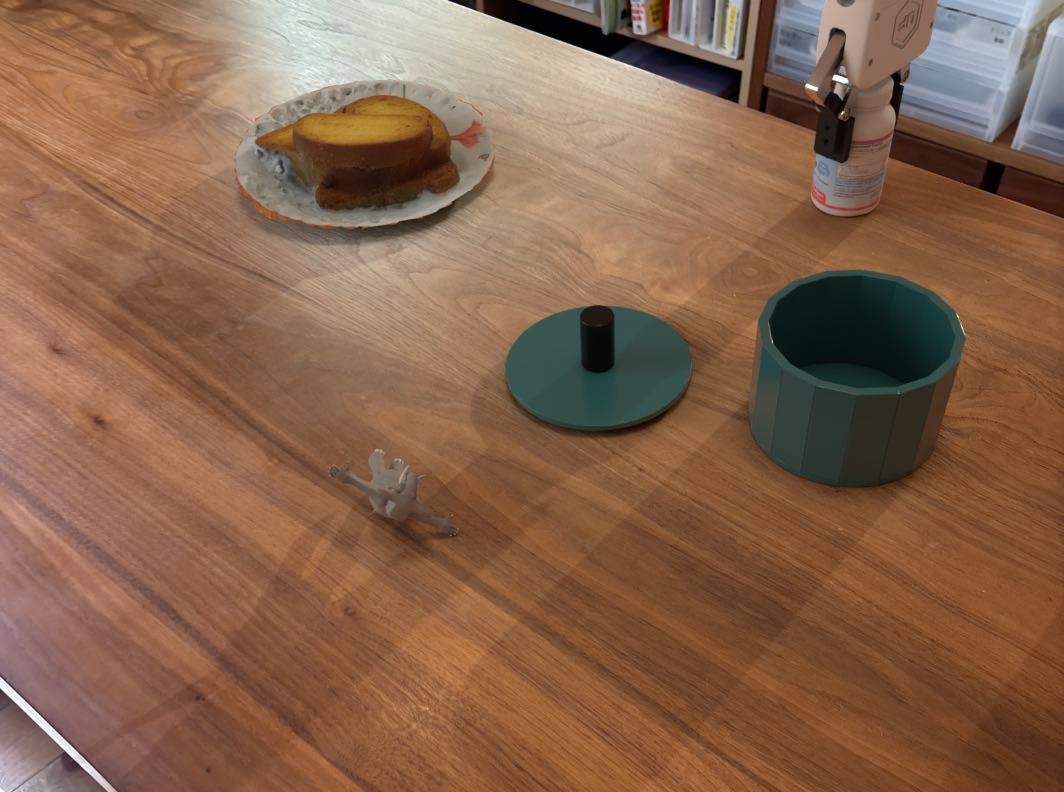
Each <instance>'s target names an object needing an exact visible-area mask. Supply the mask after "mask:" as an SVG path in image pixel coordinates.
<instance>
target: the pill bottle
mask: <svg viewBox="0 0 1064 792" xmlns="http://www.w3.org/2000/svg"><path fill="white" fill-rule="evenodd" d="M841 73H842V74H845V75H846V71H845V70H844V71H843V72H841ZM893 85H894V82H893V79H892V77H891V76H888V77H886V78H885V79H883V80H882V81H880V82H878V83H877V84H875V85H873V86H871V87H869V88H867V89H860V91H859V94H858V96H857V99H856V102H855V105H854V107H853V110H852V113H851V115H850V116H852V117H855V123H854V129H853V135H852V141H851V147H850V153H849V159H848V160H847V161H846V162H844V163H839V162H836V161H834V160H831V159H829V158H826V157H824V156H821V155H819V154H817V153H816V156H815V162H814V169H813V175H812V182H811V189H810V198H811V201H812V203H813V204H814V205H815V207H816V208H818V209H819V210H820V211H822V212H824V213H826V214H828V215H832V216H835V217H856V216H857V217H858V216H862V215H866V214H868V213H870V212H871V211H873V210H874V209H875V208H877V206H879V205H878V204H879V203H880V201H881V196H882V193H883V187H884V183H885V177H886V172H887V167H888V162H889V158H890V157H889V156H890V152H891V148H892V147H891V146H892V141H893V138H894V137H893V136H894V131H895V129H894V127H895V120H896V116H895V112H894V109H893V107H892V106H891V105H890V104H889V102H890V99H891V98H892V91H893ZM847 87H848V86H846V85H843V84H840V83H838V82H837V83H836V86H835V89H834V93H836V94H838V96H839V97H840V98H841V100H842V101H843V98H844V95H845V93H846V90H847Z"/></svg>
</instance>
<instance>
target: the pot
mask: <svg viewBox="0 0 1064 792" xmlns="http://www.w3.org/2000/svg"><path fill="white" fill-rule="evenodd" d="M756 326H757V327H756V334H755V335H756V336H755V344H754V352H753V353H754V354H753V359H752V370H751V379H750V386H749V387H750V388H749V395H748V396H749V397H748V406H747V409H748V421H749V422H748V423H749V428H750V431H751V434H752V436H753V438H754V440H755V442H756V443H757V445H758V447H759V448H760V449H761V450H762V452H763V453H764V454H765V455H766V456H767V457H768V458H769V459H770V460H772V461H773V462H774V463H775V464H777V465H778V466H780V467H781V468H783V469H784V470H786V471H788V472H789V473H792V474H794V475H796V476H799V477H800V478H803V479H806V480H808V481H812V482H815V483H818V484H823V485H827V486H828V485H829V486H835V487H842V488H843V487H844V488H861V487H872V486H879V485H884V484H887V483H891V482H894V481H896V480H899V479H901V478H904V477H905V476H908V475H910V474H911V473H913V472H914V471H916V470H918V468H920V467H921V466H922V465H923V464H924V463H925V462H926V461H927V460H928V459H929V457H930V455H932V453H933V451H934V450H935V448H936V444H937V441H938V437H939V435H940V434H939V433H940V430H941V427H942V423H943V421H944V417H945V414H946V411H947V406H948V403H949V400H950V396H951V393H952V389H953V386H954V383H955V380H956V377H957V372H958V369H959V365H960V362H961V358H962V355H963V352H964V348H965V344H966V341H967V336H966V333H965V330H964V327H963V325H962V321H961V320H960V317H959V315H958V313H957V311H956V310H955V309H954V308H953V307H952V306H950V305H949V304H948V303H947V302H946V301H945V300H944V299H943V298H942V297H941V296H939V294H937V293H936V292H935V291H933V290H932V289H929V288H927V287H926V286H925V287H924V286H922V285H921V284H918V283H916V282H913V281H911V280H909V279H907V278H906V277H903V276H899V275H893V274H890V273H884V272H878V271H873V270H869V269H840V270H839V269H838V270H837V269H836V270H824V271H820V272H817V273H815V274H814V273H813V274H811V275H808V276H804V277H801V278H798V279H794V280H792V281H791V282H789V283H788V284H786V285H785V286H783V287H782V288H781V289H779V290H778V291H776V292H775V293H773V294H772V295H771V296H769V298H768V299H767V301H766V302H765V305H764V307H763V309H762V311H761V313H760V315H759V318H758V320H757V325H756Z"/></svg>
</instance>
